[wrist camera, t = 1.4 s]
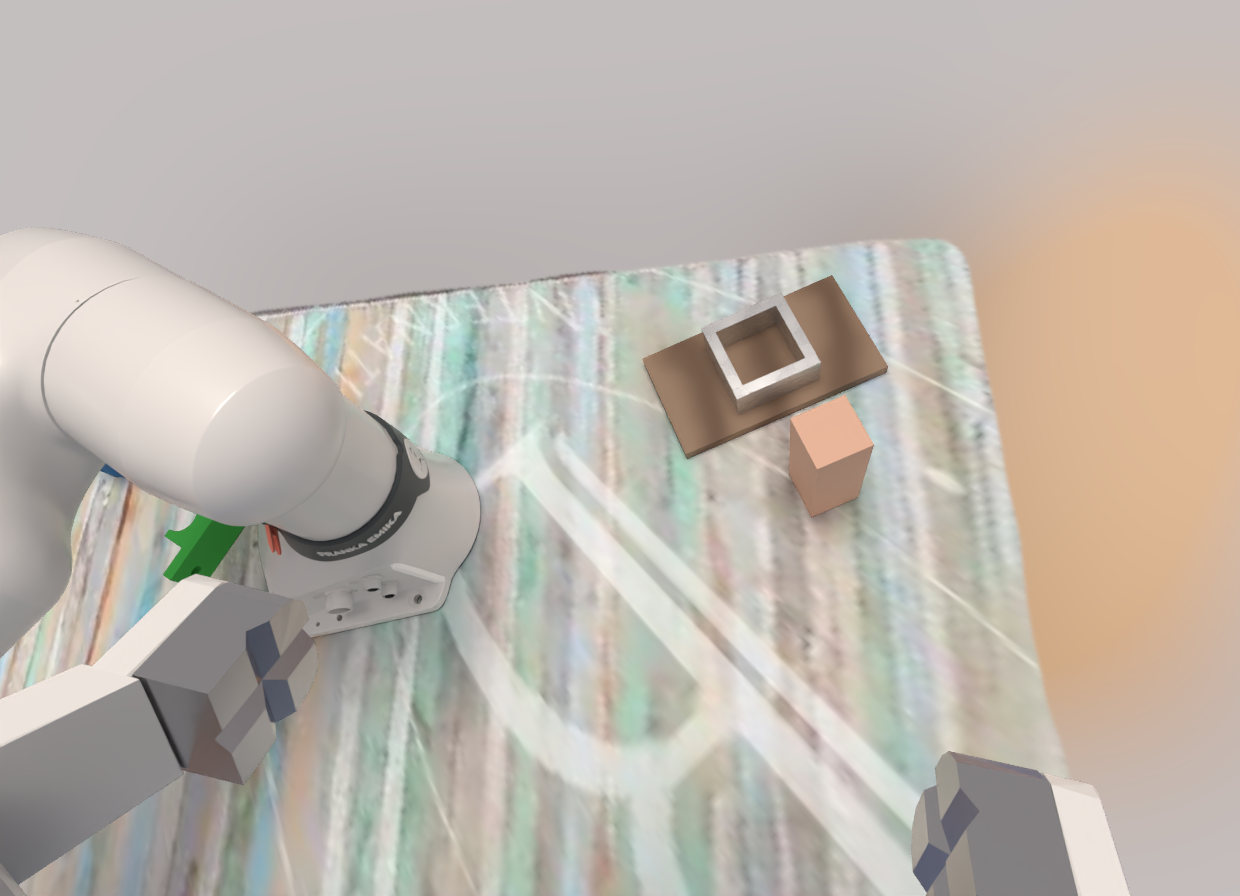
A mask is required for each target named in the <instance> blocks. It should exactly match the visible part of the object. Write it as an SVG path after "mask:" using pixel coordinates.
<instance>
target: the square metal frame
mask: <svg viewBox="0 0 1240 896" xmlns="http://www.w3.org/2000/svg"><path fill="white" fill-rule="evenodd" d="M775 325H777V327H778V329H779V331H780V332H781V334H782V336H783V338H784V340H785V341H786V343H787V345H788V347H789V349H790V350H791V352H792V354H793V356H794V358H795V359H796V361H797V362H795V363H793V364H790V365H788V366H786V367H784V368H781V369H779V370H777V371H774V372H772V373H770V374H767V375H765V376H763V377H761V378H758V379H756V380H754V381H751V382H749V383H747V384H745V385H742V383H741V381H740V379H739V377H738V375H737V373H736V371H735V369H734V367H733V365H732V363H731V362H730V360H729V358H728V356H727V354H726V352H725V350H724V348H725V347H727V346H729V345H732V344H734V343H736V342H738V341H741V340H743V339H745V338H747V337H750V336H752V335H754V334H757V333H759V332H761V331H763V330H766V329H768V328H770V327H772V326H775ZM701 329H702V334H703V339H704V344H705V347H706V349H707V351H708V353H709V355H710V357H711V359H712V361H713V363H714V365H715V367H716V369H717V371H718V373H719V375H720V377H721V379H722V381H723V383H724V385H725V387H726V389H727V391H728V393H729V395H730V397H731V399H732V401H733V404H734V406H735V408H736V410H737V412H738V414H742V413H744V412H746V411H749V410H751V409H753V408H756V407H758V406H760V405H762V404H765V403H767V402H769V401H772V400H774V399H776V398H779V397H781V396H783V395H785V394H788V393H790V392H792V391H795V390H797V389H799V388H802V387H804V386H806V385H808V384H811V383H813V382H815V381H818V380H819V377H820V367H821V362H820V360H819V358H818V356H817V355H816V353H815V351H814V349H813V348H812V346H811V344H810V342H809V341H808V339H807V337H806V335H805V334H804V332H803V330H802V328H801V327H800V325H799V323H798V321H797V320H796V318H795V316H794V314H793V312H792V311H791V309H790V307H789V305H788V304H787V302H786V300H785V298H784V297H783V295H782V293H780V294H778V295H775V296H773V297H771V298H768V299H766V300H764V301H762V302H759V303H757V304H755V305H753V306H750V307H748V308H746V309H744V310H741V311H739V312H737V313H735V314H732V315H730V316H728V317H725V318H723V319H721V320H719V321H716V322H714V323H712V324H710V325H707V326H705V327H703V328H701Z"/></svg>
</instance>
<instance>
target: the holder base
mask: <svg viewBox="0 0 1240 896" xmlns="http://www.w3.org/2000/svg"><path fill="white" fill-rule="evenodd" d="M784 298H785V300H786V302H787V304H788V305H789V307H790V309H791V311H792V312H793V314H794V316H795V318H796V320H797V321H798V323H799V325H800V327H801V328H802V330H803V332H804V334H805V335H806V337H807V339H808V341H809V342H810V344H811V346H812V348H813V349H814V351H815V353H816V355H817V356H818V358H819V360H820V362H821V367H820V377H819V380H818V381H815V382H813V383H811V384H808V385H806V386H804V387H802V388H799V389H797V390H795V391H792V392H790V393H788V394H785V395H783V396H781V397H779V398H776V399H774V400H772V401H769V402H767V403H765V404H762V405H760V406H758V407H756V408H753V409H751V410H749V411H746V412H744V413H742V414H738V412H737V410H736V408H735V406H734V404H733V401H732V399H731V397H730V395H729V393H728V391H727V389H726V387H725V385H724V383H723V381H722V379H721V377H720V375H719V373H718V371H717V369H716V367H715V365H714V363H713V361H712V359H711V357H710V355H709V353H708V351H707V349H706V347H705V344H704V339H703V334H702V333H700V334H698V335H695V336H693V337H691V338H689V339H686V340H684V341H682V342H680V343H677V344H675V345H673V346H671V347H668V348H666V349H664V350H661V351H659V352H657V353H655V354H652V355H650V356H648V357H646V358H643V362H644V364H645V367H646V369H647V371H648V373H649V375H650V378H651V380H652V382H653V384H654V386H655V389H656V391H657V393H658V395H659V398H660V400H661V402H662V404H663V406H664V409H665V411H666V413H667V415H668V417H669V420H670V422H671V424H672V426H673V428H674V431H675V433H676V435H677V437H678V440H679V442H680V444H681V446H682V448H683V451H684V453H685V455H686V457H687V459H688V458H690V457H692V456H695V455H697V454H699V453H702V452H704V451H706V450H709V449H711V448H713V447H715V446H718V445H720V444H722V443H725V442H727V441H729V440H732V439H734V438H736V437H739V436H741V435H743V434H745V433H748V432H750V431H752V430H755V429H757V428H759V427H762V426H764V425H766V424H769V423H771V422H773V421H775V420H778V419H780V418H782V417H785V416H787V415H789V414H792V413H794V412H796V411H798V410H801V409H803V408H805V407H808V406H810V405H812V404H815V403H817V402H819V401H822V400H824V399H826V398H828V397H831V396H833V395H835V394H838V393H840V392H842V391H845V390H847V389H849V388H851V387H854V386H856V385H858V384H861V383H863V382H865V381H868V380H870V379H872V378H875V377H877V376H879V375H881V374H884V373H886V372H887V368H888V366H887V364H886V362H885V361H884V359H883V357H882V356H881V354H880V353H879V351H878V349H877V348H876V346H875V344H874V343H873V341H872V339H871V338H870V336H869V335H868V333H867V331H866V330H865V328H864V326H863V325H862V323H861V322H860V320H859V318H858V317H857V315H856V313H855V312H854V310H853V308H852V307H851V305H850V304H849V302H848V300H847V299H846V297H845V295H844V294H843V292H842V291H841V289H840V287H839V286H838V284H837V282H836V281H835V279H834V277H833V276H832V275H831V276H829V277H827V278H824V279H822V280H820V281H818V282H815V283H813V284H811V285H809V286H806V287H804V288H802V289H800V290H797V291H795V292H793V293H790V294H788V295H786V296H784ZM724 350H725V352H726V354H727V356H728V358H729V360H730V362H731V363H732V365H733V367H734V369H735V371H736V373H737V375H738V377H739V379H740V381H741V383H742V385H745V384H747V383H749V382H751V381H754V380H756V379H758V378H761V377H763V376H765V375H767V374H770V373H772V372H774V371H777V370H779V369H781V368H784V367H786V366H788V365H790V364H793V363H795V362H797V361H796V359H795V358H794V356H793V354H792V352H791V350H790V349H789V347H788V345H787V343H786V341H785V340H784V338H783V336H782V334H781V332H780V331H779V329H778V327H777V325H775V326H772V327H770V328H768V329H766V330H763V331H761V332H759V333H757V334H754V335H752V336H750V337H747V338H745V339H743V340H741V341H738V342H736V343H734V344H732V345H729V346H727V347H725V348H724Z"/></svg>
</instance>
